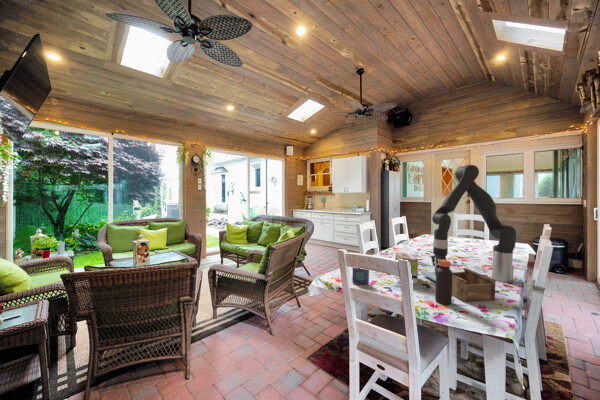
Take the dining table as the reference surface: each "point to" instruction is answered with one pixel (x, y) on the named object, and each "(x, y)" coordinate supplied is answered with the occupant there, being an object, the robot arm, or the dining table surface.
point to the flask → (360, 276)
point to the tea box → (413, 263)
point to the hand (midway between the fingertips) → (439, 275)
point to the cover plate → (431, 275)
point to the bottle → (444, 283)
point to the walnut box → (472, 286)
